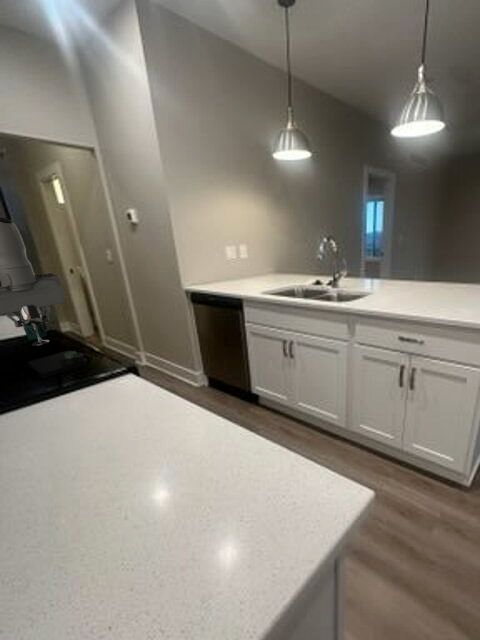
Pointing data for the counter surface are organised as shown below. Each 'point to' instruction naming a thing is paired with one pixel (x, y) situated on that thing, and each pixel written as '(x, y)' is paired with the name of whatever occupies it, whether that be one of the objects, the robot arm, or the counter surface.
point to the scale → (56, 364)
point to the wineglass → (32, 320)
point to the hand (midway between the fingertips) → (33, 323)
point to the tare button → (70, 354)
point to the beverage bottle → (31, 333)
